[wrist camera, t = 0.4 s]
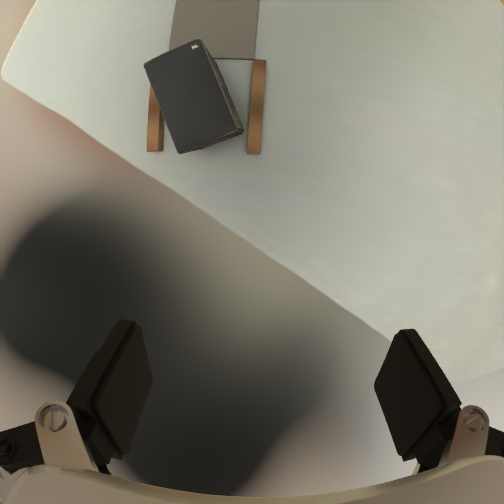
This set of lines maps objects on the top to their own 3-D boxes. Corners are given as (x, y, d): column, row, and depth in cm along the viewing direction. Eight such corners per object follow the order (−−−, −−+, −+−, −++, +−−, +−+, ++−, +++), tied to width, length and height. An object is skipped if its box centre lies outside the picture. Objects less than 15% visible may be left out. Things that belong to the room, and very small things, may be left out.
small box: (169, 81, 31) (138, 63, 21) (216, 61, 30) (201, 33, 20) (197, 151, 34) (175, 156, 25) (245, 133, 33) (241, 129, 24)
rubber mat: (180, -14, 25) (179, -16, 24) (260, -16, 25) (260, -18, 24) (168, 61, 29) (167, 60, 29) (254, 60, 30) (254, 58, 29)
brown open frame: (157, 65, 30) (152, 61, 28) (265, 64, 30) (266, 60, 28) (152, 150, 34) (146, 151, 32) (259, 153, 34) (259, 154, 32)
